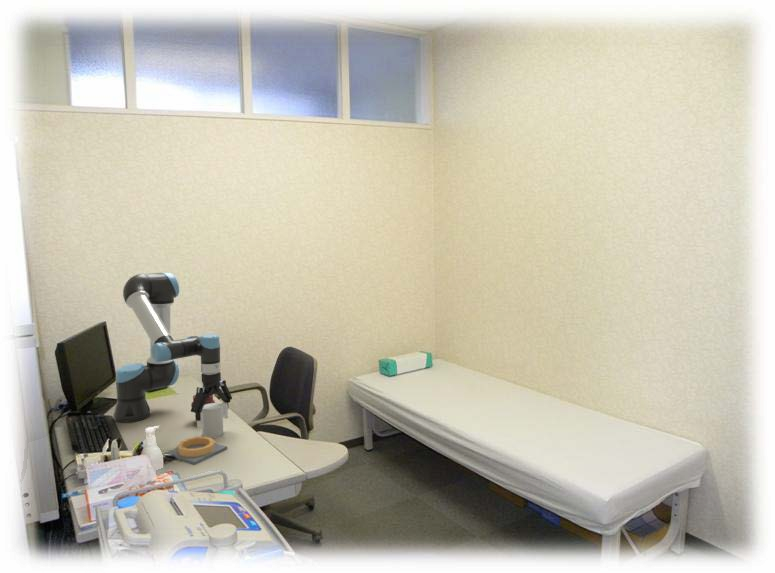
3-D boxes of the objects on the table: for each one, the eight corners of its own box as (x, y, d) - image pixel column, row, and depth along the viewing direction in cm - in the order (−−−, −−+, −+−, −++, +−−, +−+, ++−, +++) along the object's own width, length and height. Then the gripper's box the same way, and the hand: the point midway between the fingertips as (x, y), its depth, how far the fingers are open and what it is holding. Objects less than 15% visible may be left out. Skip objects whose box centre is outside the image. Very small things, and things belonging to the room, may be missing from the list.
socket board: (164, 455, 205) (164, 446, 205) (197, 440, 219) (197, 432, 219) (194, 464, 198) (194, 455, 197) (227, 448, 212) (226, 440, 211)
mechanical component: (219, 417, 246) (208, 424, 237) (199, 415, 248) (187, 423, 239) (218, 390, 245) (207, 397, 235) (198, 389, 247) (186, 395, 237)
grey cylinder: (215, 429, 232) (215, 401, 231) (227, 433, 227) (226, 406, 225) (198, 434, 226) (197, 406, 224) (209, 439, 220) (208, 411, 219)
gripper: (193, 381, 211) (195, 433, 213) (239, 366, 232) (241, 414, 235) (180, 378, 214) (182, 430, 216) (226, 364, 236) (228, 412, 238)
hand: (212, 422), depth 225 cm, fingers open, 13 cm apart
